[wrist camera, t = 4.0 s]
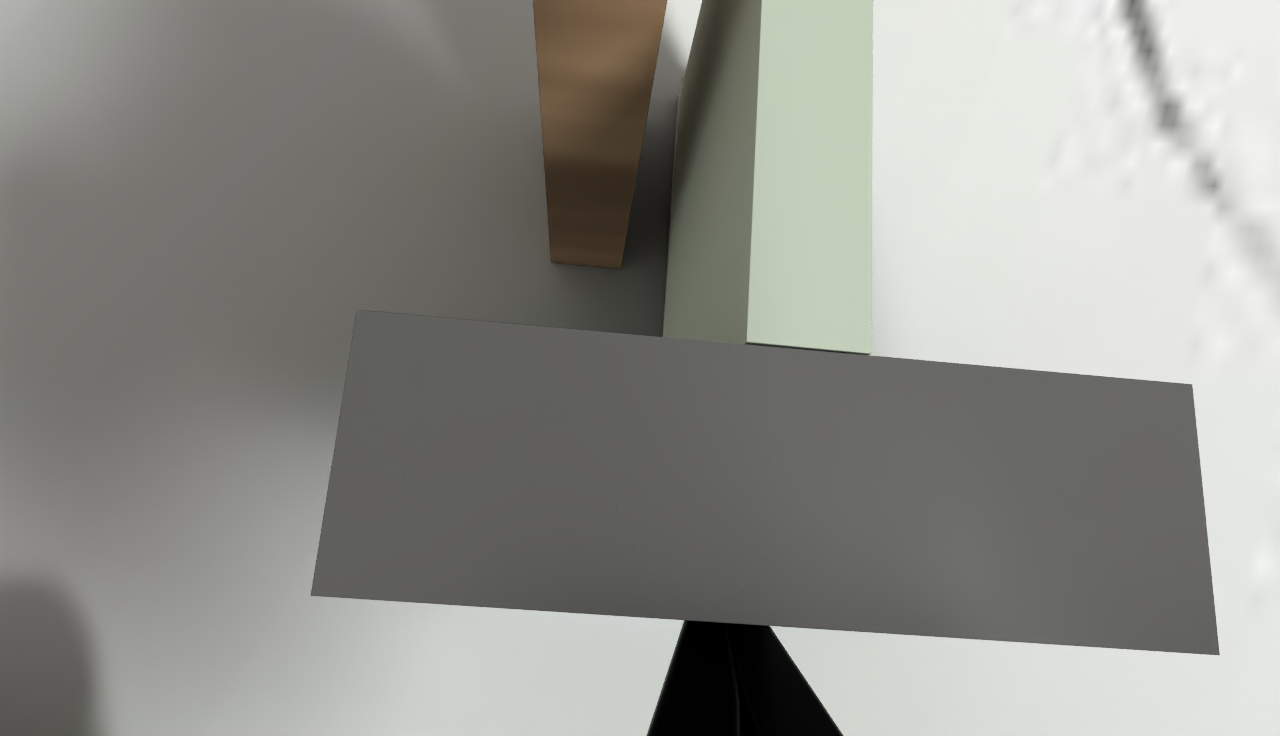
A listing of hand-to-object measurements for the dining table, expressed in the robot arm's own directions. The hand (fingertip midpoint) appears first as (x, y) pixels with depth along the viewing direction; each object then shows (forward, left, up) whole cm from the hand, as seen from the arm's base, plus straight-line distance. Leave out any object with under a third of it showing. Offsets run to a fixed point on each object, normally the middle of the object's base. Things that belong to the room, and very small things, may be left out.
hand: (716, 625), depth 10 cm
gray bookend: (+4, -4, -7) cm, 9 cm away
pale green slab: (+4, -5, -5) cm, 9 cm away
